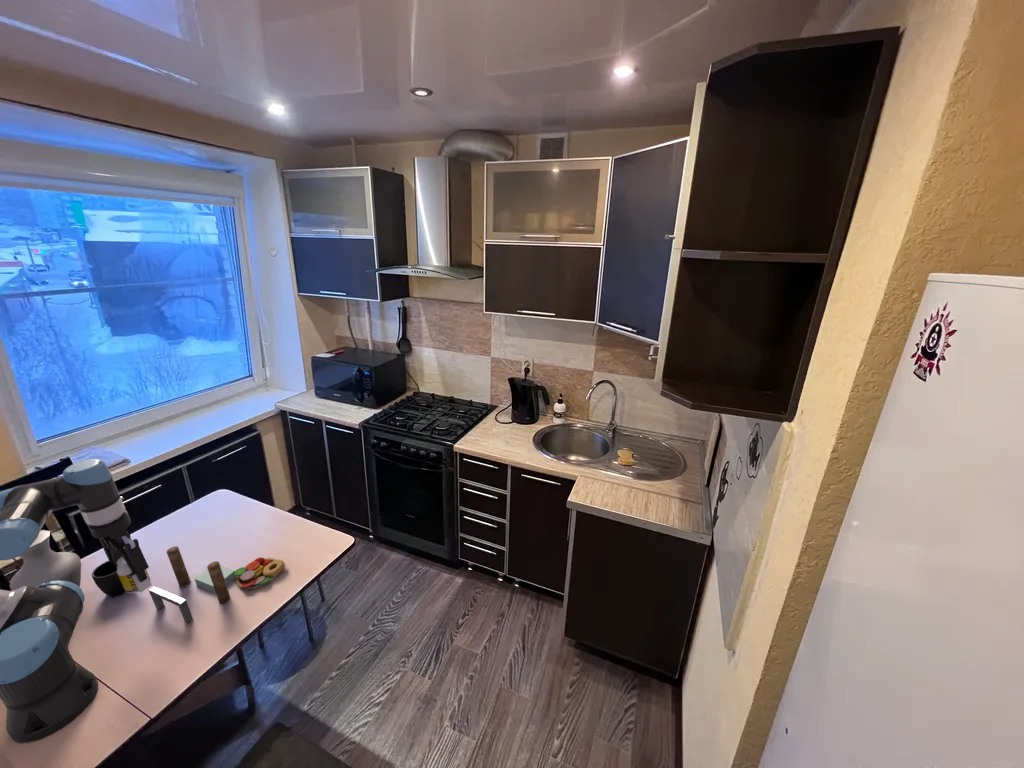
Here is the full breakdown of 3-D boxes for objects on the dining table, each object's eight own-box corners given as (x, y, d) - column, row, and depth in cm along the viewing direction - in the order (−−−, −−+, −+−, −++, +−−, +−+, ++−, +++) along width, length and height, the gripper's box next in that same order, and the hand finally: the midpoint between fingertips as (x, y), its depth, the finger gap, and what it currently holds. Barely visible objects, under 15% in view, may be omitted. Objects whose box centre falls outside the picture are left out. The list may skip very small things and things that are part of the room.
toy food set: (290, 569, 143) (288, 562, 142) (253, 598, 132) (250, 590, 131) (265, 556, 149) (263, 548, 148) (227, 582, 138) (225, 575, 137)
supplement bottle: (133, 596, 112) (120, 568, 109) (121, 591, 114) (107, 563, 110) (155, 581, 117) (144, 554, 113) (143, 576, 119) (131, 549, 115)
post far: (183, 588, 135) (170, 554, 130) (177, 585, 136) (164, 551, 131) (192, 581, 138) (180, 547, 133) (186, 578, 139) (174, 545, 134)
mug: (133, 601, 130) (123, 578, 127) (94, 601, 131) (83, 577, 127) (154, 580, 138) (145, 557, 135) (118, 580, 138) (108, 557, 135)
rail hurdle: (188, 623, 123) (180, 603, 120) (156, 609, 128) (148, 589, 125) (193, 619, 125) (186, 599, 122) (161, 605, 129) (153, 586, 126)
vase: (83, 579, 138) (53, 517, 129) (103, 596, 132) (73, 532, 123) (20, 612, 127) (-17, 547, 117) (40, 633, 120) (1, 566, 111)
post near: (223, 605, 129) (211, 570, 124) (216, 602, 130) (204, 567, 125) (232, 597, 132) (221, 562, 127) (225, 594, 133) (214, 560, 128)
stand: (216, 592, 134) (214, 586, 133) (196, 584, 137) (194, 578, 136) (236, 576, 140) (234, 570, 139) (217, 569, 143) (215, 563, 142)
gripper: (146, 516, 107) (174, 584, 116) (103, 500, 113) (133, 566, 122) (111, 535, 100) (144, 606, 109) (67, 517, 107) (101, 585, 115)
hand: (138, 585), depth 115 cm, fingers closed on supplement bottle, 5 cm apart
